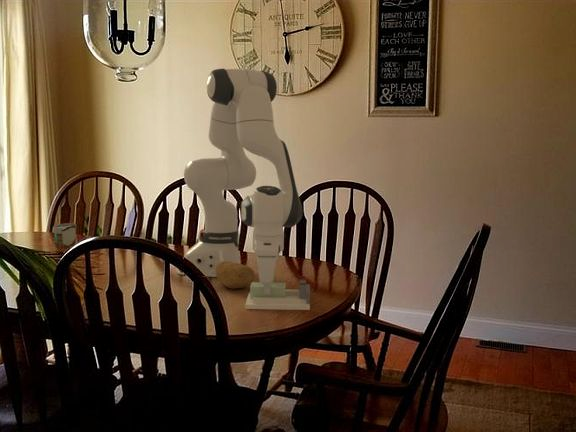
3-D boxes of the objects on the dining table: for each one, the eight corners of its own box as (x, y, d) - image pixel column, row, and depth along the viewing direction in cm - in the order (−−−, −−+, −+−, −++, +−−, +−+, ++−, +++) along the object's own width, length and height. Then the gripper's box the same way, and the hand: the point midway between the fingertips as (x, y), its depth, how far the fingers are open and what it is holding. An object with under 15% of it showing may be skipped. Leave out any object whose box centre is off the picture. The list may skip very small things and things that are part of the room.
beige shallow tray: (245, 308, 170) (245, 288, 169) (248, 296, 182) (248, 277, 181) (309, 309, 170) (310, 289, 169) (309, 297, 182) (309, 278, 181)
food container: (63, 246, 247) (61, 222, 245) (77, 247, 246) (76, 223, 244) (47, 253, 235) (45, 227, 233) (62, 254, 234) (60, 228, 232)
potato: (242, 295, 183) (242, 269, 182) (208, 287, 191) (207, 262, 190) (262, 288, 191) (262, 263, 189) (229, 280, 199) (228, 256, 198)
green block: (250, 298, 173) (250, 286, 173) (251, 293, 178) (251, 282, 178) (285, 299, 173) (285, 287, 173) (285, 294, 178) (285, 282, 178)
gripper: (259, 236, 183) (259, 280, 186) (254, 251, 163) (254, 301, 166) (280, 236, 183) (280, 281, 186) (278, 251, 163) (277, 301, 165)
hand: (267, 290), depth 175 cm, fingers closed on green block, 5 cm apart
